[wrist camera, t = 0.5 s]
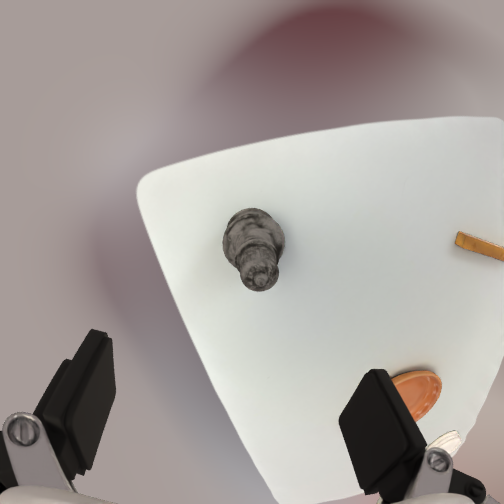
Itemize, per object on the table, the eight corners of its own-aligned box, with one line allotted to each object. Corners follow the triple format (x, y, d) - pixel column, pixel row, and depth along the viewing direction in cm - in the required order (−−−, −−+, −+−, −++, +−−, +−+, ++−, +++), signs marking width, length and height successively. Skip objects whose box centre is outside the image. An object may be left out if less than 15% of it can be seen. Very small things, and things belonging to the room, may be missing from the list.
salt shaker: (218, 210, 31) (210, 252, 20) (275, 201, 31) (300, 238, 20) (228, 262, 33) (227, 326, 22) (282, 254, 33) (306, 313, 22)
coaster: (456, 425, 53) (461, 434, 49) (457, 437, 56) (462, 446, 53) (422, 446, 54) (427, 456, 51) (426, 457, 57) (431, 466, 54)
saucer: (337, 420, 45) (341, 433, 42) (396, 354, 40) (404, 366, 37) (395, 427, 48) (400, 438, 45) (449, 371, 44) (456, 381, 41)
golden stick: (458, 230, 34) (466, 235, 32) (508, 249, 35) (515, 253, 34) (454, 243, 34) (462, 248, 32) (504, 259, 36) (511, 263, 34)
